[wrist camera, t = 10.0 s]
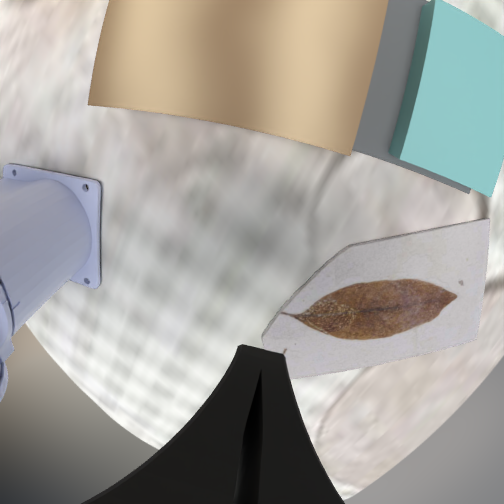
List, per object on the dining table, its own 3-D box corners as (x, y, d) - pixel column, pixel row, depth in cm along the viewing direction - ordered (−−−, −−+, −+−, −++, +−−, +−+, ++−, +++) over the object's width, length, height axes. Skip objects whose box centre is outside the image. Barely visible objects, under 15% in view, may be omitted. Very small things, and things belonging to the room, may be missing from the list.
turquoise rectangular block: (490, 197, 14) (474, 187, 15) (525, 51, 10) (506, 53, 11) (399, 159, 14) (388, 153, 16) (435, -3, 10) (422, 6, 12)
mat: (346, 147, 16) (347, 148, 16) (385, -15, 12) (386, -16, 11) (466, 192, 16) (469, 194, 16) (502, 46, 11) (505, 45, 11)
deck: (126, 102, 16) (87, 105, 13) (164, -49, 12) (136, -75, 8) (337, 144, 16) (350, 156, 12) (376, -18, 12) (396, -45, 8)
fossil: (274, 382, 23) (237, 271, 19) (275, 370, 24) (240, 261, 20) (476, 340, 20) (494, 222, 16) (470, 330, 21) (485, 214, 17)
